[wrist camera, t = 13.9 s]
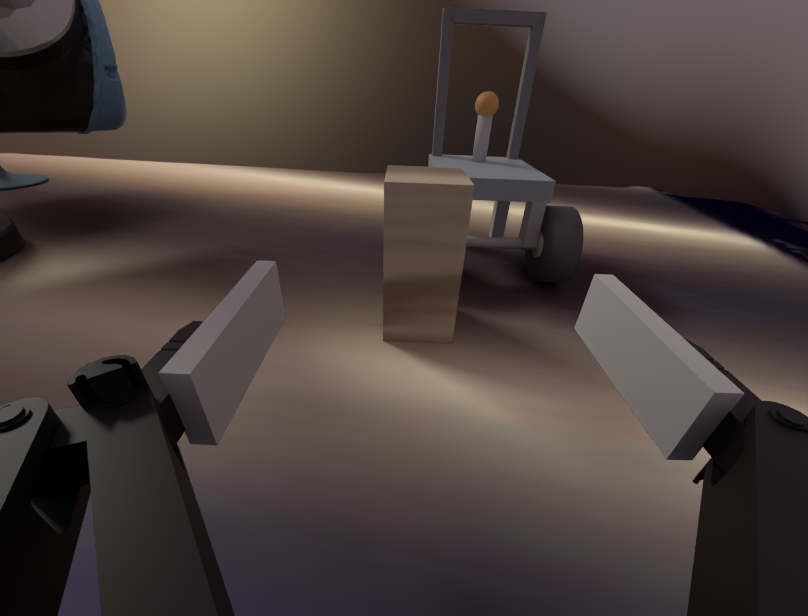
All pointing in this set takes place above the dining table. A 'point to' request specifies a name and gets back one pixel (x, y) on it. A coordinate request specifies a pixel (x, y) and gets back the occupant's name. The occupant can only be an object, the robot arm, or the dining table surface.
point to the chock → (424, 251)
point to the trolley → (510, 160)
